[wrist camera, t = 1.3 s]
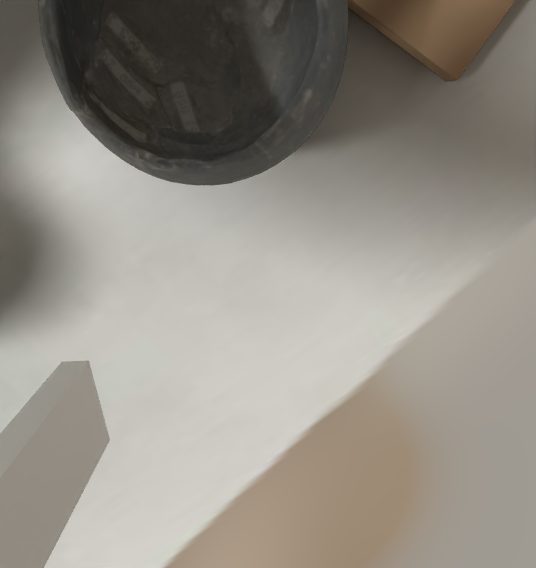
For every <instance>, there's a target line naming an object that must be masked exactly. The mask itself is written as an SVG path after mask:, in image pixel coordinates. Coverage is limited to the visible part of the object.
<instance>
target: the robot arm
mask: <svg viewBox="0 0 536 568" xmlns="http://www.w3.org/2000/svg"><path fill="white" fill-rule="evenodd" d="M109 440H110V439H109V435H108V431H107V428H106V424H105V420H104V416H103V413H102V409H101V405H100V401H99V398H98V394H97V390H96V386H95V383H94V379H93V375H92V371H91V367H90V364H89V361H72V362H61V363H60V365H59V366H58V367H57V368H56V369H55V371H54V372H53V373H52V374H51V375H50V376H49V378H48V379H47V380H46V381H45V382H44V383H43V385H42V386H41V387H40V388H39V389H38V390H37V392H36V393H35V394H34V395H33V396H32V397H31V399H30V400H29V401H28V402H27V403H26V405H25V406H24V407H23V408H22V409H21V410H20V412H19V413H18V414H17V415H16V416H15V417H14V419H13V420H12V421H11V422H10V423H9V424H8V426H7V427H6V428H5V429H4V430H3V431H2V433H1V434H0V568H44V566H45V564H46V562H47V560H48V558H49V556H50V554H51V553H52V551H53V549H54V547H55V545H56V543H57V541H58V539H59V537H60V535H61V533H62V531H63V529H64V527H65V525H66V523H67V522H68V520H69V518H70V516H71V514H72V512H73V510H74V508H75V506H76V504H77V502H78V500H79V498H80V496H81V494H82V493H83V491H84V489H85V487H86V485H87V483H88V481H89V479H90V477H91V475H92V473H93V471H94V469H95V467H96V465H97V464H98V462H99V460H100V458H101V456H102V454H103V452H104V450H105V448H106V446H107V444H108V442H109Z"/></svg>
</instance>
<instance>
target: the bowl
mask: <svg viewBox="0 0 536 568" xmlns="http://www.w3.org/2000/svg"><path fill="white" fill-rule="evenodd" d="M38 6H39V18H40V27H41V35H42V42H43V46H44V50H45V53H46V57H47V60H48V62H49V65H50V67H51V70H52V72H53V75H54V78H55V80H56V82H57V84H58V87H59V89H60V91H61V93H62V95H63V97H64V99H65V102H66V104H67V105H68V107H69V108H70V110H71V111H73V112H74V113H75V115H76V116H77V117H78V118H79V120H80V121H81V122H82V124H83V125H84V126H85V127H86V128H87V129H88V130H89V131H90V132H91V133H92V134H93V135H94V136H95V137H96V138H97V139H98V140H99V141H100V142H101V143H102V144H103V145H104V146H105V147H106V148H108V149H109V150H110V151H112V152H113V153H114V154H116V155H117V156H118V157H120V158H121V159H122V160H124V161H125V162H127V163H129V164H130V165H132V166H134V167H135V168H137V169H139V170H141V171H143V172H145V173H147V174H150V175H152V176H155V177H157V178H160V179H163V180H167V181H170V182H176V183H182V184H190V185H220V184H228V183H233V182H236V181H239V180H243V179H246V178H249V177H252V176H254V175H257V174H260V173H262V172H264V171H266V170H268V169H269V168H271V167H273V166H275V165H276V164H278V163H279V162H281V161H282V160H284V159H285V158H287V157H288V156H289V155H291V154H292V153H293V152H294V151H296V150H297V149H298V148H299V147H300V146H301V145H302V144H303V143H304V142H305V141H306V140H307V139H308V138H309V136H310V135H311V134H312V132H313V131H314V130H315V128H316V127H317V126H318V124H319V123H320V122H321V120H322V118H323V117H324V115H325V113H326V112H327V110H328V109H329V107H330V104H331V102H332V100H333V98H334V96H335V93H336V90H337V87H338V84H339V81H340V78H341V74H342V71H343V66H344V60H345V54H346V48H347V39H348V2H347V0H38Z"/></svg>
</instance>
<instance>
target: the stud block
mask: <svg viewBox="0 0 536 568" xmlns="http://www.w3.org/2000/svg"><path fill="white" fill-rule="evenodd" d="M347 2H348V8H349V9H351V10H352V11H353V12H355V13H356V14H357V15H359V16H360V17H361V18H363V19H364V20H365V21H367V22H368V23H369V24H371V25H372V26H373V27H375V28H376V29H377V30H379V31H380V32H381V33H383V34H384V35H385V36H387V37H388V38H389V39H391V40H392V41H393V42H395V43H396V44H397V45H398V46H400V47H401V48H402V49H404V50H405V51H406V52H408V53H409V54H410V55H412V56H413V57H414V58H416V59H417V60H418V61H420V62H421V63H422V64H424V65H425V66H426V67H428V68H429V69H430V70H432V71H433V72H434V73H436V74H437V75H438V76H440V77H441V78H442V79H444V80H445V81H455V80H458V79H459V77H460V76H461V75H462V73H463V72H464V71H465V69H466V68H467V66H468V65H469V64H470V62H471V61H472V60H473V58H474V57H475V55H476V54H477V53H478V51H479V50H480V49H481V47H482V46H483V44H484V43H485V42H486V40H487V39H488V38H489V36H490V35H491V33H492V32H493V31H494V29H495V28H496V27H497V25H498V24H499V22H500V21H501V20H502V18H503V17H504V15H505V14H506V13H507V11H508V10H509V9H510V7H511V6H512V4H513V3H514V2H515V0H347Z"/></svg>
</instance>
